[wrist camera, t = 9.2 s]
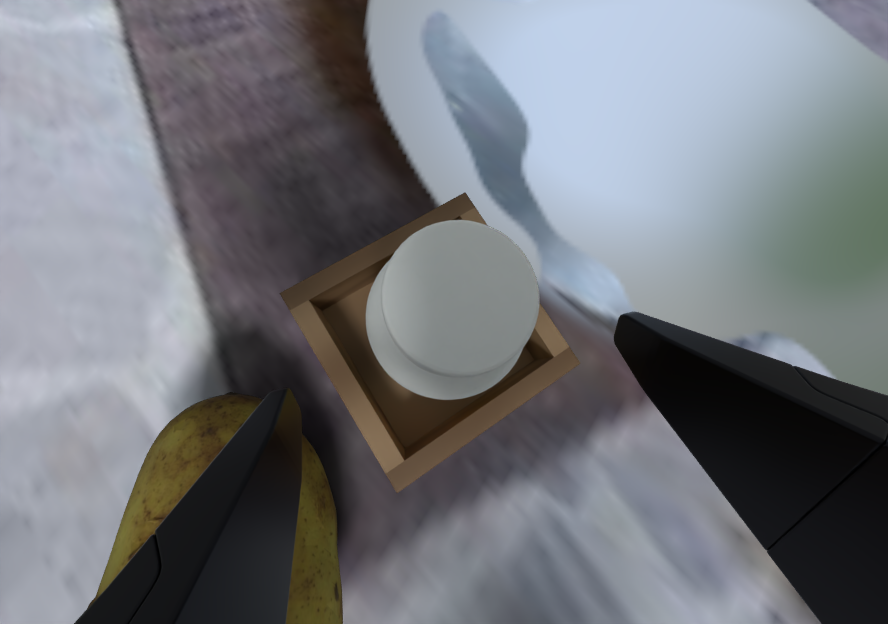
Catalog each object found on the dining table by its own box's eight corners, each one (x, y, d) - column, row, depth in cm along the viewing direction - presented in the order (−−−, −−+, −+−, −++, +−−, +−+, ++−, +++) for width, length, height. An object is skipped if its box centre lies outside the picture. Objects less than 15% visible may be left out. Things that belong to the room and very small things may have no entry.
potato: (381, 400, 18) (360, 419, 10) (346, 699, 15) (282, 1039, 7) (211, 386, 17) (43, 395, 9) (145, 698, 15) (-160, 1074, 7)
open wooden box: (552, 365, 19) (580, 363, 16) (398, 472, 17) (396, 493, 14) (456, 220, 20) (465, 192, 17) (300, 307, 18) (279, 293, 15)
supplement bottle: (358, 334, 18) (300, 283, 8) (436, 267, 19) (466, 154, 9) (429, 414, 17) (456, 460, 8) (504, 342, 18) (610, 304, 9)
